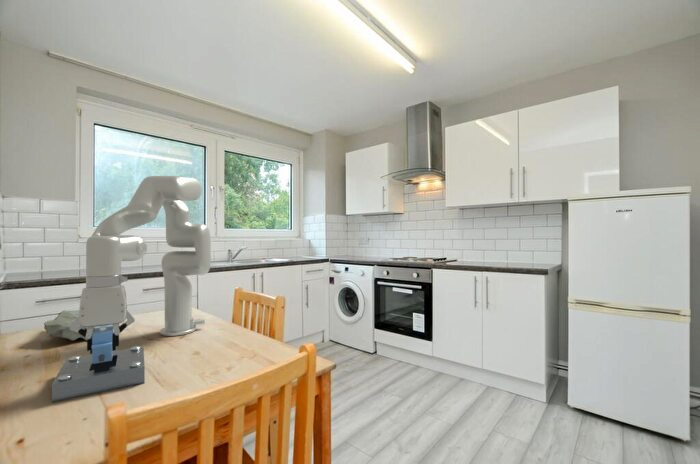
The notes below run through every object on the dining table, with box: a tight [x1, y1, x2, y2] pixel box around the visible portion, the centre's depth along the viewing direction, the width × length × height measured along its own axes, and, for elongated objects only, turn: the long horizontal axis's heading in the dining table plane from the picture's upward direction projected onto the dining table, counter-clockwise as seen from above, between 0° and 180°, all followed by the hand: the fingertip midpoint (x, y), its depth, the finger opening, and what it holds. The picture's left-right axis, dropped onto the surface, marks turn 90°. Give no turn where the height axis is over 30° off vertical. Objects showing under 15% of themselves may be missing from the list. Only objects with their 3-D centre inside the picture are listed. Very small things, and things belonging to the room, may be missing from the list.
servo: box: [91, 325, 114, 364], centre depth 87 cm, size 4×11×8 cm, turn 33°
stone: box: [43, 310, 107, 342], centre depth 126 cm, size 28×8×20 cm
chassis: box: [51, 345, 146, 403], centre depth 88 cm, size 18×18×5 cm
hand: (103, 350), depth 88 cm, fingers closed on servo, 4 cm apart
